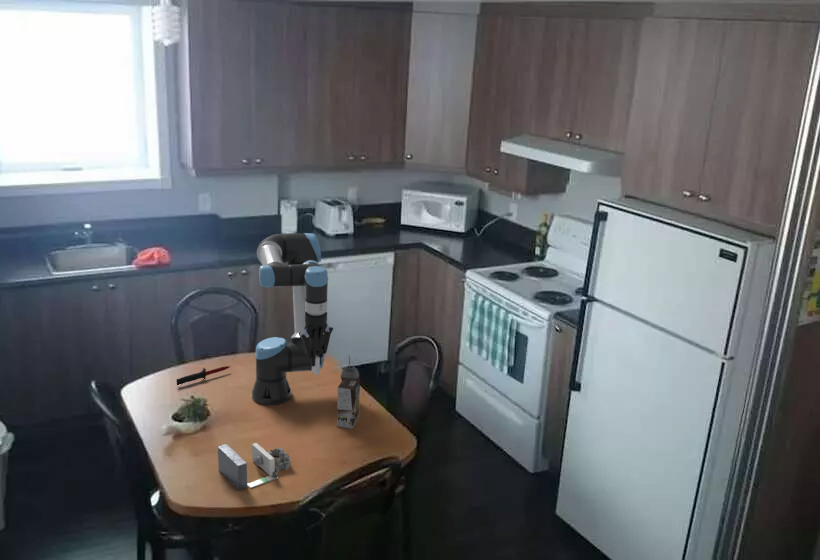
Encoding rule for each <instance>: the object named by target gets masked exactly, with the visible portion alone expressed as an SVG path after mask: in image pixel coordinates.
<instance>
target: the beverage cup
mask: <svg viewBox="0 0 820 560" xmlns="http://www.w3.org/2000/svg"><path fill="white" fill-rule="evenodd" d="M344 378H354V379H360V373H359V370H358V368H356V367H355V366H354V365H351V354H348V366H344V368H343V369H342V371H341V374H340V379H341V381H342V380H343V379H344Z"/></svg>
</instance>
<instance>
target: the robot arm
mask: <svg viewBox="0 0 820 560" xmlns="http://www.w3.org/2000/svg"><path fill="white" fill-rule="evenodd" d="M256 258H257V260H258V261H259V263H261V265H260V266H259V268H258V279H259V280H258V281H259V286H260V287H261V288H269V289H270V288H284V287H292V301H293V324H294V325H293V326H294V333H293V334H292V336H291V337H290V341H289V342H288V341H287V340H286V339H285V338H283V337H278V336H273V337H268V338H264V339H263V340H261V341H259V342H258V343H257V345H256V347H255V353H254V357H255V367H256V368H255V374H256V375H255V382H254V384H253V388H252V390H251V391H252V392H251V398H252V400H253V401H254V402H256V403H258V404H260V405H267V406H271V405H272V406H273V405H275V406H276V405H280V404H282V403H283V404H284V403H285V402H287V401H289V400H290V399H291V397H292V390H291V386H290V383H289V381H288V378H287V373H297V372H299V373H300V372H311V373H313V374H314V375H315V376H317V375H320V370H321V369H322V368H323V366H324V362H325V357H326V354H327V351H328V348H329V342H330V338H331V334H332V332H333V330H334V327H332V326H331V325H329V324H328V282H329V277H328V275H329V274H328V270H327V269H326V267H325V268H324V266H322V265H320V263H321V261H322V254H321V247H320V241H319V239H318V237H317V235H316V234H315V233H310V232H309V233H306V232H300V233H299V232H298V233H297V232H296V233H276V234H272V235H270V236H268V237H266V238H264V239H263V240H262V241H261V242H259V244H258V246H257V248H256Z"/></svg>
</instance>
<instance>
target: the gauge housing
mask: <svg viewBox="0 0 820 560" xmlns="http://www.w3.org/2000/svg"><path fill="white" fill-rule="evenodd" d="M217 464H218V465H217V466H218V471H219V472H220V473H221V475H222V476H223V477H224V478H226V479H227V480H228V482H230V484H232V485H233V487H235V489H236V490H238V491H241V490H243V489H247V488H249V489H254V488H256V487H258V486H261V485H263V484H264V485H265V484H266V483H269V482H271V481H275V480H277V479H279V476H278V477H275V476H274V475H271V476H270V475H267V476H264V477H261V478H259V479H256V480H253V481H252V482H248V463H247V461H245V459H243V458H242V457H241V456H240V455H239V454H238V453H237V452H236V451H235V450H234V449H233V448H231V447H230V446H229V445H228V444H227V443H225V444H222V445H219V446H217Z"/></svg>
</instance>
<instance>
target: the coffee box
mask: <svg viewBox="0 0 820 560" xmlns="http://www.w3.org/2000/svg"><path fill="white" fill-rule="evenodd" d="M360 390H361V378H359V379H354V378H344V379H343V380H341V382H340V384H339V385H338V387H337V403H336V404H337V407H336V408H337V409H336V410H337V411H336V413H337V416H336V419H337V420H336V427H339V428H345V429H352V430H353V429H354V428H355V426H356V424H357V422H358V420H359V418H360V394H361V391H360Z"/></svg>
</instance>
